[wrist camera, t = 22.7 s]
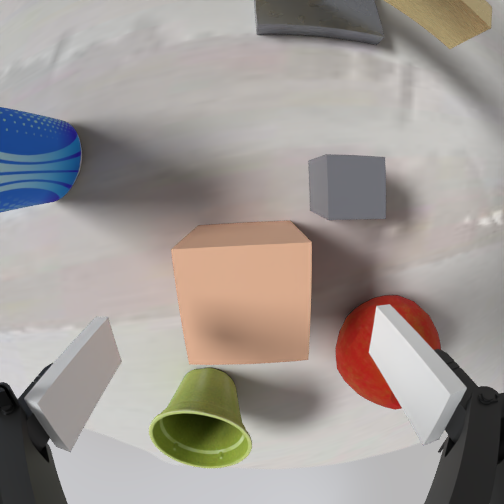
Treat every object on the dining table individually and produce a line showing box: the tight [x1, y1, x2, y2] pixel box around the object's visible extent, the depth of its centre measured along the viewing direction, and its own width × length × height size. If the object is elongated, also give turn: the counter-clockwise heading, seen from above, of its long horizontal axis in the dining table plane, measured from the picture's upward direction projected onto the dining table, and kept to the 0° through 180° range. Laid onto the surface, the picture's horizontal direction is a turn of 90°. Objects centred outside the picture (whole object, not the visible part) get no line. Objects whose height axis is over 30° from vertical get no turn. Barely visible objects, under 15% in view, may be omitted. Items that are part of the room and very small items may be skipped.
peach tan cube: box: [171, 221, 312, 365], centre depth 21 cm, size 8×8×9 cm
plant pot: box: [149, 368, 252, 468], centre depth 25 cm, size 9×9×9 cm
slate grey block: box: [308, 155, 386, 220], centre depth 21 cm, size 4×4×6 cm
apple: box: [336, 295, 441, 409], centre depth 22 cm, size 10×10×10 cm
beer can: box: [0, 107, 82, 212], centre depth 15 cm, size 8×8×16 cm
